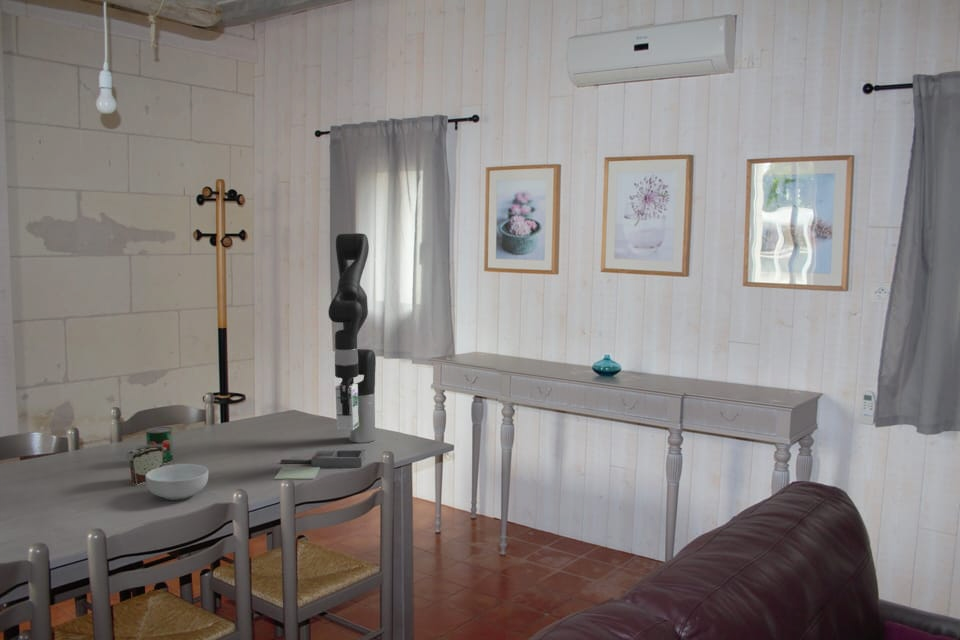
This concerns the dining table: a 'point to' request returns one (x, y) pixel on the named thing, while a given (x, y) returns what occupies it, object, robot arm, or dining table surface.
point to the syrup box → (353, 418)
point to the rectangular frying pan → (333, 458)
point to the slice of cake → (144, 461)
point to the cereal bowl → (177, 480)
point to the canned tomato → (161, 440)
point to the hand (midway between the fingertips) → (347, 412)
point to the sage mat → (297, 472)
